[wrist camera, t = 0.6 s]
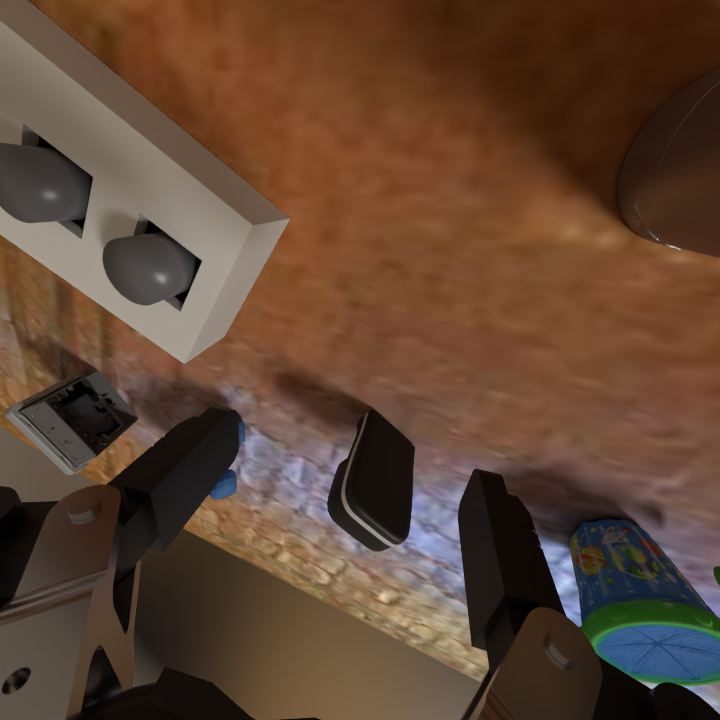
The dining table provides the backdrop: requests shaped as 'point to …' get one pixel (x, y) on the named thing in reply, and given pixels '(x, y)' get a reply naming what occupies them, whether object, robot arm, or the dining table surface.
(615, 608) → the snack cup
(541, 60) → the dining table surface
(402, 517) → the battery charger
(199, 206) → the knob panel
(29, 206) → the knob
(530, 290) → the dining table surface
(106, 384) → the electrical switch
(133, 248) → the knob
